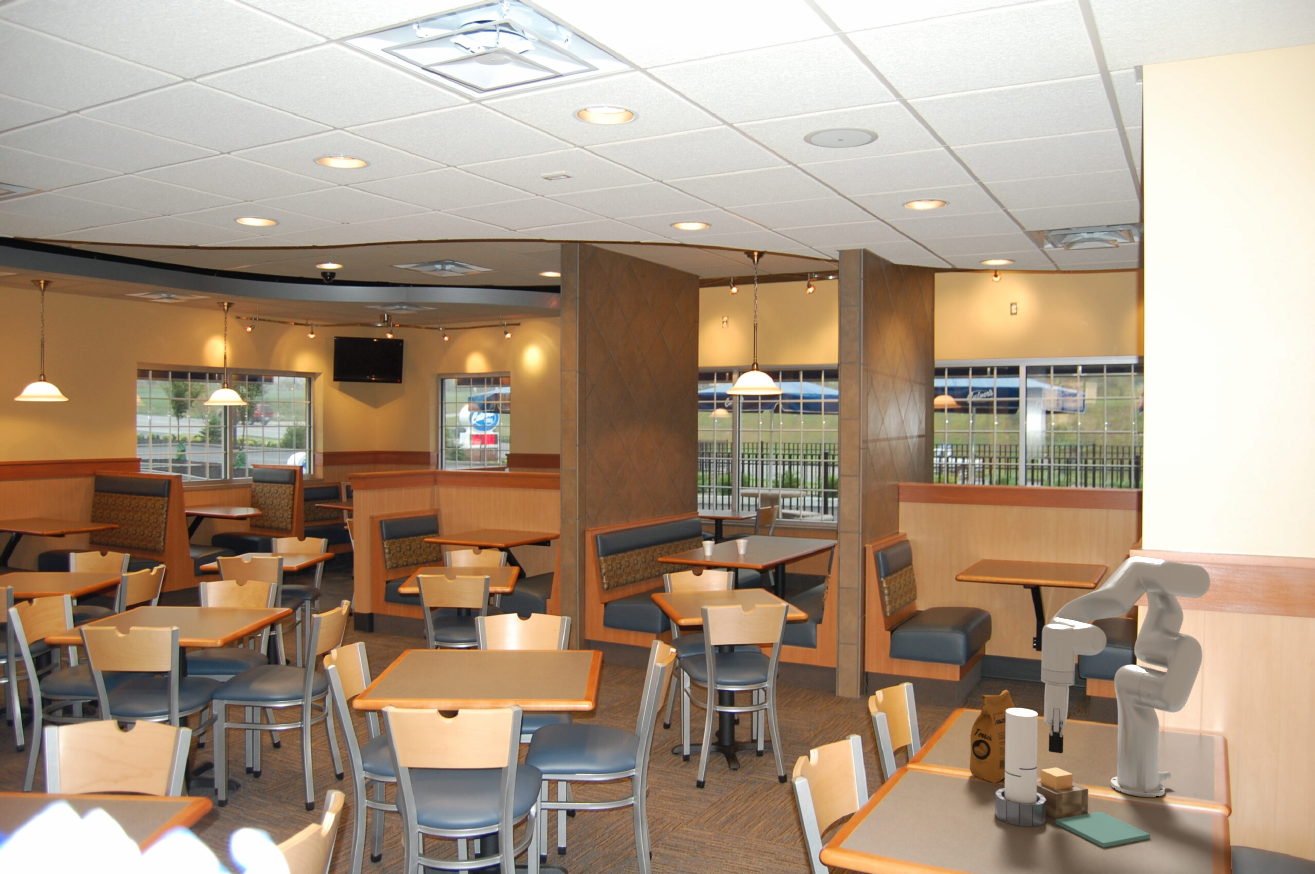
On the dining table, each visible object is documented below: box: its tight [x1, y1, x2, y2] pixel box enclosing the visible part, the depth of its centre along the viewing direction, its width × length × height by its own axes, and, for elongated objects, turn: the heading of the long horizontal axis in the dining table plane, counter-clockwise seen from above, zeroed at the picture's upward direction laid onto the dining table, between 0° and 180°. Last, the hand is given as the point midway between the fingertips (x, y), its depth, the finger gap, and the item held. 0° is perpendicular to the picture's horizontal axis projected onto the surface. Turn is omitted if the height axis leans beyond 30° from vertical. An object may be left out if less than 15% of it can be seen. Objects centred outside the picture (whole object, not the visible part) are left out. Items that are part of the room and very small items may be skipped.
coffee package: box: [969, 689, 1016, 784], centre depth 260 cm, size 10×12×22 cm
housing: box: [1037, 777, 1089, 820], centre depth 237 cm, size 10×10×6 cm
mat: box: [1055, 811, 1151, 848], centre depth 224 cm, size 14×14×1 cm
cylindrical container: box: [1004, 707, 1039, 803], centre depth 232 cm, size 7×7×25 cm
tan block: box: [1040, 767, 1073, 790], centre depth 237 cm, size 5×5×6 cm
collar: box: [994, 787, 1047, 828], centre depth 232 cm, size 11×11×5 cm
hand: (1055, 751), depth 237 cm, fingers closed
